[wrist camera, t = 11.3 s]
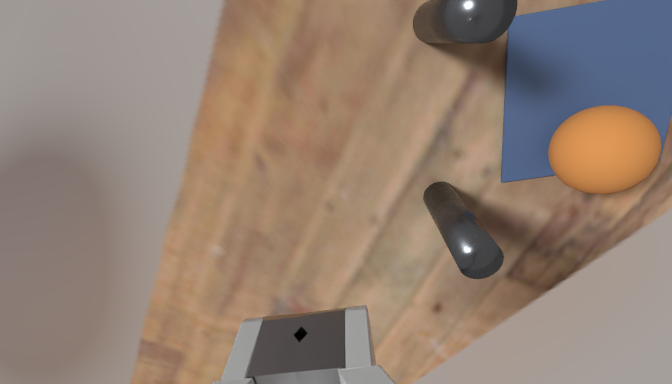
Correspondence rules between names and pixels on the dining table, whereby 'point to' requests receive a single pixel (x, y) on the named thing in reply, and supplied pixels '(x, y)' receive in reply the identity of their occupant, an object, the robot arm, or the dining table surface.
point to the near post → (463, 20)
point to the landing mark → (582, 73)
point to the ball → (604, 149)
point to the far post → (463, 232)
